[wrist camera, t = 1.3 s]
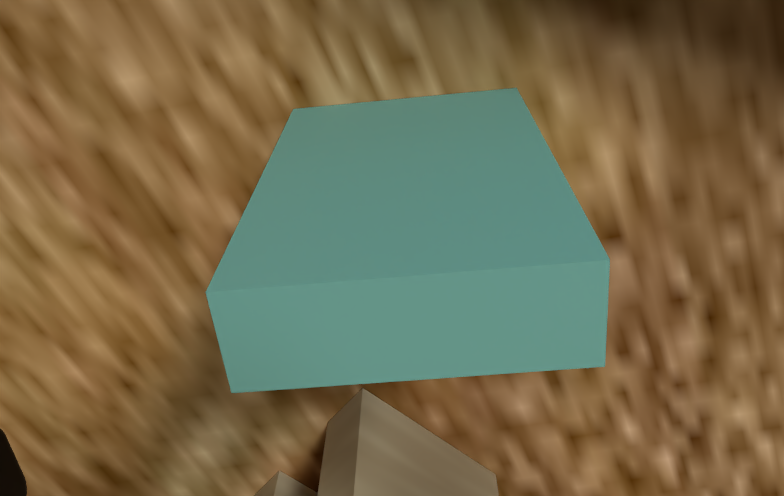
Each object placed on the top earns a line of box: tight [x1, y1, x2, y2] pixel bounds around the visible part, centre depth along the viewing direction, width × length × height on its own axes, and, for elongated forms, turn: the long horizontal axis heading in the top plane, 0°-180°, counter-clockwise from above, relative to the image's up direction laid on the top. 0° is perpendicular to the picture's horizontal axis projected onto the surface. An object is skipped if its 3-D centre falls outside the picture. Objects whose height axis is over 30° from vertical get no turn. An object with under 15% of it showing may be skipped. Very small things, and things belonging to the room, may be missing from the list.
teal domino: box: [206, 88, 610, 393], centre depth 13 cm, size 2×5×8 cm, turn 96°
